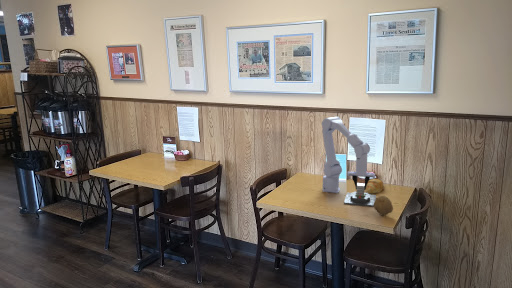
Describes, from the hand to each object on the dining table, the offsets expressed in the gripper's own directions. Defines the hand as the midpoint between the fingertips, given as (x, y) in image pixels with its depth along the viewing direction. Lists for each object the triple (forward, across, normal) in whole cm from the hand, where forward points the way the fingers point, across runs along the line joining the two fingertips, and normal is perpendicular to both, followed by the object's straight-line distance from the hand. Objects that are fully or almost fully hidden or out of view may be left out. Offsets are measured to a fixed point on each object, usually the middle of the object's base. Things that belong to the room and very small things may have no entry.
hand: (360, 189), depth 211 cm
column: (+4, 0, 0) cm, 4 cm away
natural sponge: (+7, +12, -17) cm, 22 cm away
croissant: (+7, +6, +20) cm, 22 cm away
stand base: (+7, 0, 0) cm, 7 cm away
